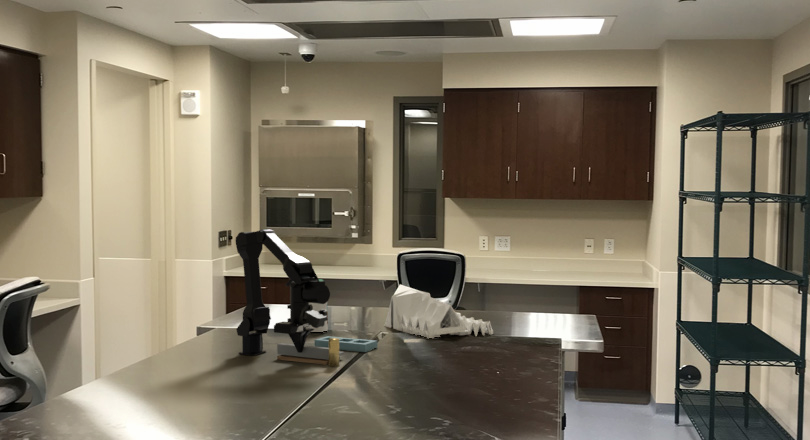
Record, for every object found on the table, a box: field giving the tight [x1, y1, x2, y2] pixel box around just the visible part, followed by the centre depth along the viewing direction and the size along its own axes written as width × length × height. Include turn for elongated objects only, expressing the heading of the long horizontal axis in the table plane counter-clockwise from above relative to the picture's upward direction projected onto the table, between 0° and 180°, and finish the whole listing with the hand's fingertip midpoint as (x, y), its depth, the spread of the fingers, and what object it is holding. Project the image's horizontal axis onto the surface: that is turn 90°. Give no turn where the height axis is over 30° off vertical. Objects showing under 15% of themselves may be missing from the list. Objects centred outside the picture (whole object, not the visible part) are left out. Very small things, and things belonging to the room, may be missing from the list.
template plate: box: [276, 354, 341, 366], centre depth 226 cm, size 8×18×1 cm, turn 63°
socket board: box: [314, 335, 378, 353], centre depth 245 cm, size 8×20×2 cm, turn 63°
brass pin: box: [328, 338, 340, 368], centre depth 217 cm, size 3×3×8 cm
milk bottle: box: [309, 278, 329, 333], centre depth 278 cm, size 8×8×20 cm
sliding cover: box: [276, 342, 345, 360], centre depth 227 cm, size 9×19×3 cm, turn 63°
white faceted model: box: [383, 283, 494, 339], centre depth 282 cm, size 41×27×17 cm, turn 31°
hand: (299, 352), depth 222 cm, fingers closed
